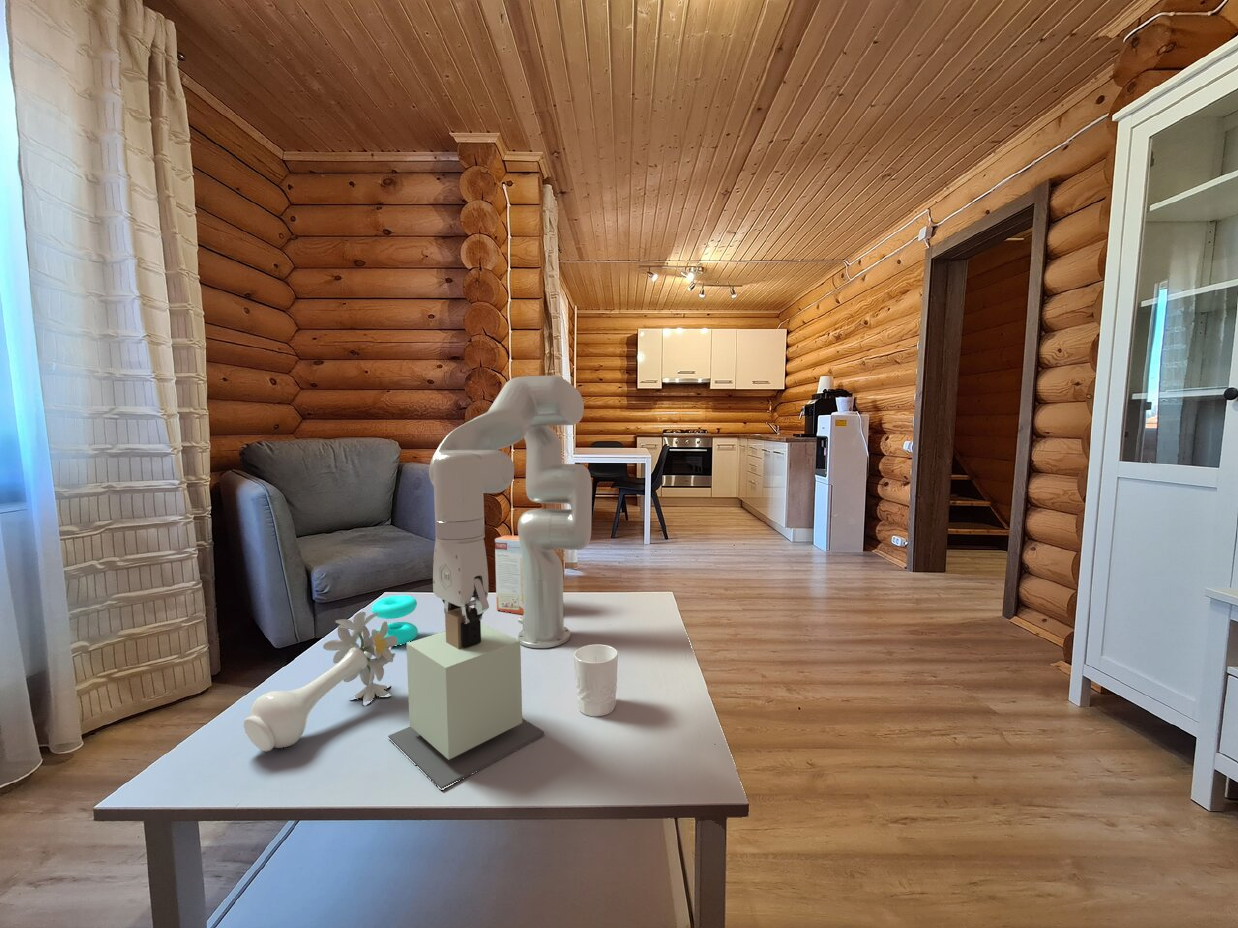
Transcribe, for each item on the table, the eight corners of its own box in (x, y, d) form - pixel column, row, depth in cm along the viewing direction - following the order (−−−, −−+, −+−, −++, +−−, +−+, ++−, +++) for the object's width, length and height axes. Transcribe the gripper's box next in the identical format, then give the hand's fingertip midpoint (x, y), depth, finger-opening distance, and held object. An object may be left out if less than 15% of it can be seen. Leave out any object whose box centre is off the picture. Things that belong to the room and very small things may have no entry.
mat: (388, 739, 84) (388, 735, 84) (485, 697, 97) (485, 694, 97) (441, 791, 71) (441, 787, 71) (544, 735, 84) (544, 731, 84)
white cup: (613, 720, 88) (612, 664, 88) (569, 716, 90) (568, 660, 89) (622, 697, 96) (621, 645, 95) (581, 693, 98) (580, 642, 97)
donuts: (413, 591, 130) (419, 602, 122) (414, 629, 131) (421, 643, 122) (369, 598, 125) (373, 609, 117) (371, 638, 126) (375, 652, 117)
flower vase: (295, 796, 80) (413, 687, 102) (272, 708, 73) (404, 610, 95) (240, 764, 85) (365, 665, 106) (214, 677, 78) (353, 591, 100)
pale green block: (409, 725, 84) (405, 612, 82) (480, 695, 93) (477, 593, 92) (448, 759, 75) (444, 633, 74) (522, 722, 84) (519, 610, 83)
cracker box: (549, 610, 144) (548, 537, 142) (537, 618, 138) (535, 541, 137) (509, 604, 150) (507, 533, 148) (495, 611, 144) (493, 537, 143)
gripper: (414, 526, 85) (417, 634, 86) (465, 540, 73) (469, 664, 75) (455, 520, 90) (458, 622, 91) (510, 532, 79) (512, 648, 80)
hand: (463, 639), depth 83 cm, fingers closed on pale green block, 4 cm apart
